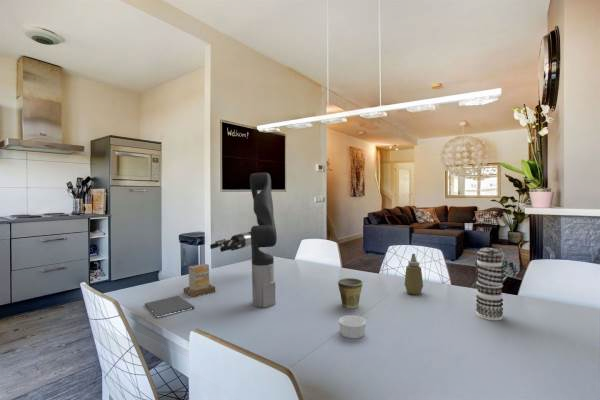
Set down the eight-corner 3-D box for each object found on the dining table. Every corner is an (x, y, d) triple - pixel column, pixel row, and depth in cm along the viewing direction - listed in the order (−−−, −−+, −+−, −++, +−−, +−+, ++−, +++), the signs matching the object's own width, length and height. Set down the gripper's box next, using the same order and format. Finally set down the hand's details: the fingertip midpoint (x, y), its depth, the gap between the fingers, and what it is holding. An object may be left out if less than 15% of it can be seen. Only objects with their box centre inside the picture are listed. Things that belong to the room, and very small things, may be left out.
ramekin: (347, 325, 107) (347, 313, 107) (370, 332, 102) (370, 319, 101) (333, 334, 100) (333, 321, 100) (357, 342, 95) (357, 329, 95)
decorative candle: (490, 322, 108) (490, 251, 107) (469, 312, 116) (469, 247, 116) (510, 319, 110) (510, 250, 109) (488, 309, 119) (488, 246, 118)
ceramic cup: (362, 310, 120) (362, 285, 119) (337, 309, 122) (337, 284, 121) (362, 299, 132) (362, 276, 132) (339, 298, 134) (339, 275, 134)
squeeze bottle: (420, 290, 143) (420, 252, 143) (425, 295, 135) (425, 255, 135) (402, 289, 144) (402, 252, 144) (406, 295, 136) (406, 255, 136)
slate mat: (194, 308, 125) (194, 306, 125) (157, 318, 115) (157, 315, 115) (178, 297, 138) (178, 295, 138) (144, 305, 129) (144, 303, 129)
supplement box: (194, 296, 140) (194, 267, 140) (188, 294, 143) (188, 266, 143) (209, 291, 147) (209, 264, 146) (203, 289, 149) (203, 263, 149)
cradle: (215, 292, 145) (215, 286, 145) (190, 297, 138) (190, 292, 137) (207, 287, 152) (207, 282, 152) (183, 293, 144) (183, 288, 144)
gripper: (232, 232, 165) (206, 238, 153) (250, 235, 156) (223, 243, 144) (233, 245, 166) (207, 253, 154) (251, 249, 157) (224, 258, 145)
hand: (215, 248), depth 149 cm, fingers open, 8 cm apart
